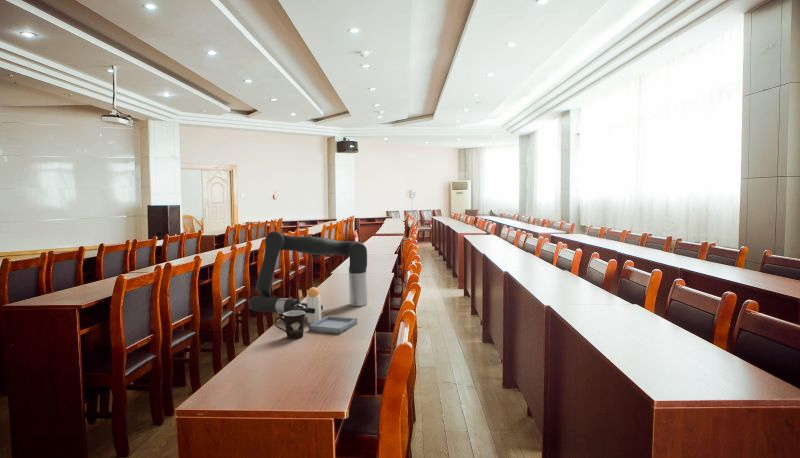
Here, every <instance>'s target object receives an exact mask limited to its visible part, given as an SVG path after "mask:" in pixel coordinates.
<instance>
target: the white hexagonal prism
mask: <svg viewBox="0 0 800 458" xmlns="http://www.w3.org/2000/svg"><path fill="white" fill-rule="evenodd" d="M321 296H322V295H321V294H319V295H318V296H317V297H309V295H308V294H307V295H306V303H307V308H314V309H315V313H314V314H313V313H306V315H307V316H306V319H307V320H306V321H307V323H308V324H312V323H314V322H316V321H318V320H320V319H322V310H321V305H322V301H321V300H322V299H321V298H322V297H321Z"/></svg>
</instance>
